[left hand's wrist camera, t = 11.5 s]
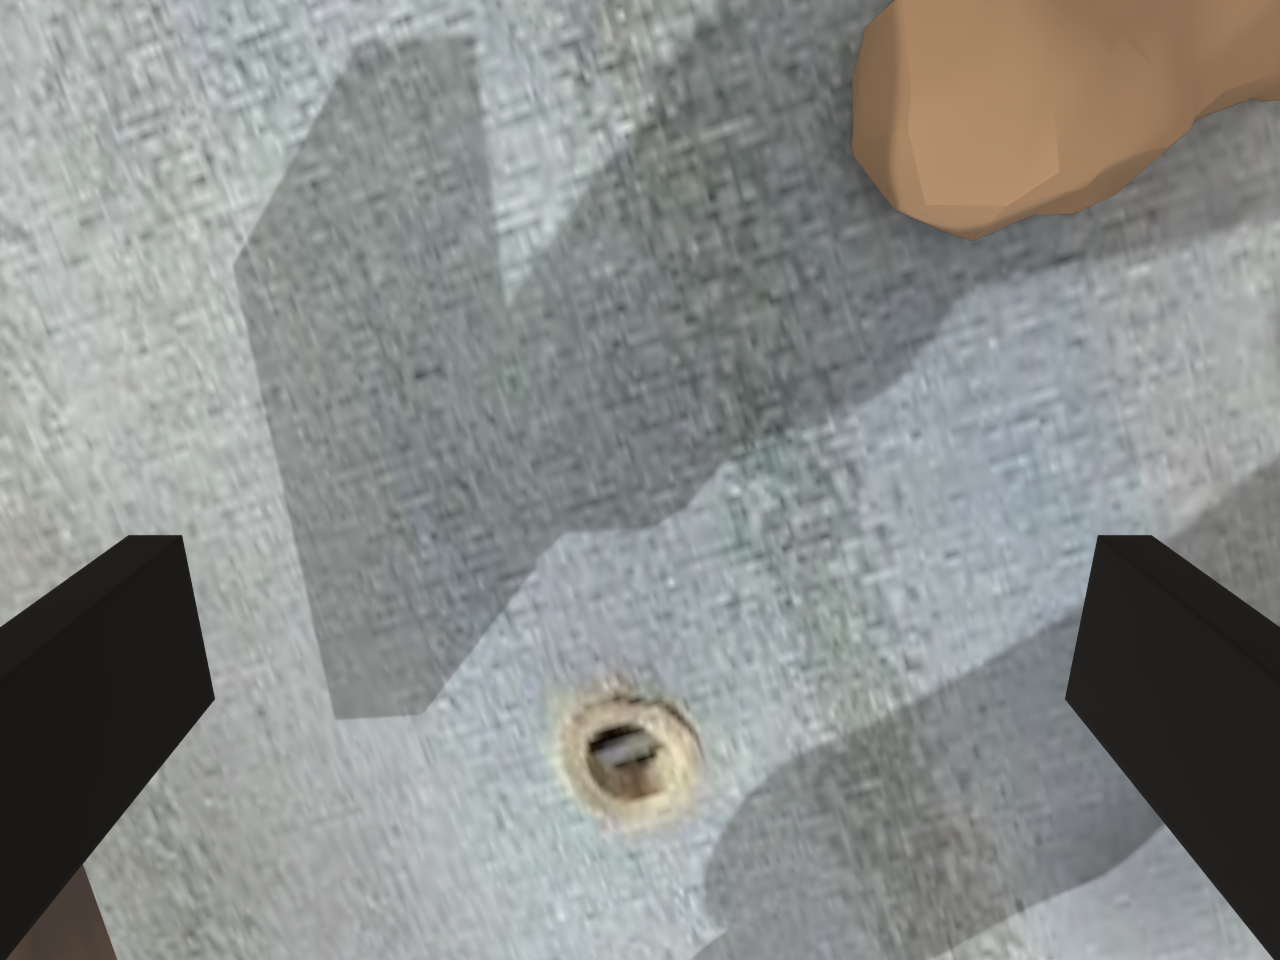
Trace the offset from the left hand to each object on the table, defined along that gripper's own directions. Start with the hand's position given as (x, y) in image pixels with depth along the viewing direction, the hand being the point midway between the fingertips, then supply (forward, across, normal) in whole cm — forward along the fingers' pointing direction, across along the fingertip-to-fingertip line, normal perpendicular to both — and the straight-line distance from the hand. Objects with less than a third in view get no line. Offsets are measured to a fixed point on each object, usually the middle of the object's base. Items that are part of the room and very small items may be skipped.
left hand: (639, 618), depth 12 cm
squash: (+30, +18, +10) cm, 36 cm away
